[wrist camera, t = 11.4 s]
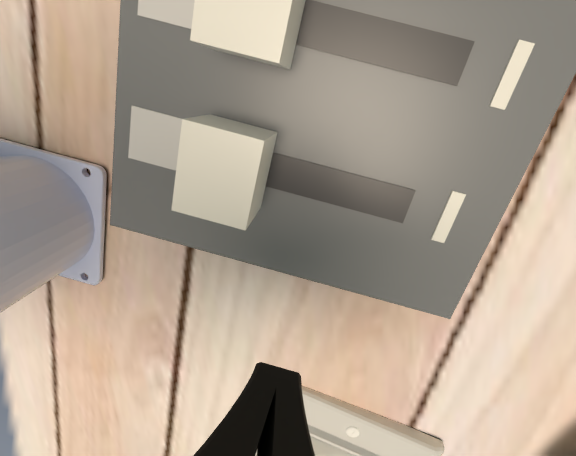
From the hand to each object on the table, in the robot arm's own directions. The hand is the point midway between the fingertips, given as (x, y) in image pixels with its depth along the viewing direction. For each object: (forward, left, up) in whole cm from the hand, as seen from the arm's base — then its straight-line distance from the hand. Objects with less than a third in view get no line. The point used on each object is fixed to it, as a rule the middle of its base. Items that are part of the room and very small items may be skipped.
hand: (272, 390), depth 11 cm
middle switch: (-4, +11, -7) cm, 14 cm away
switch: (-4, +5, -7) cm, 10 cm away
